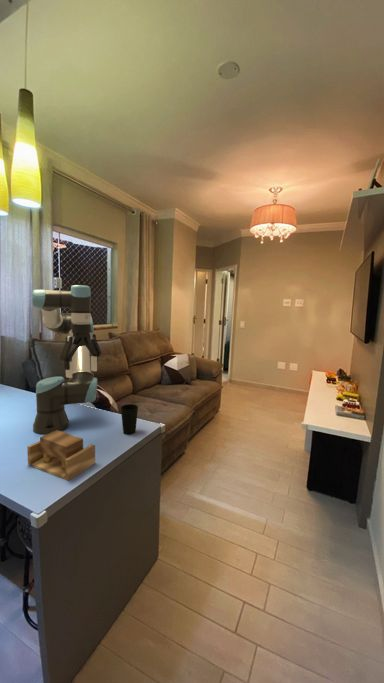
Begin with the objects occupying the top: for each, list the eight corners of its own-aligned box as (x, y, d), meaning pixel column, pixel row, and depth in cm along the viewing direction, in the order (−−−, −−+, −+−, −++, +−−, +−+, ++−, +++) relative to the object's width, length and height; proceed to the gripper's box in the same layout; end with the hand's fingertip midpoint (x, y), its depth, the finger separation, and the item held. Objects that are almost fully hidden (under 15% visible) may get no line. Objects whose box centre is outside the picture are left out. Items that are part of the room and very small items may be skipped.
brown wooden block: (83, 453, 102) (83, 438, 102) (66, 462, 96) (66, 447, 95) (57, 443, 109) (57, 430, 108) (40, 451, 102) (39, 437, 102)
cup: (133, 436, 126) (133, 410, 125) (117, 434, 128) (117, 409, 126) (140, 429, 134) (140, 405, 132) (125, 427, 135) (125, 403, 134)
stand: (28, 465, 102) (27, 446, 101) (56, 450, 113) (55, 433, 112) (68, 480, 93) (68, 460, 93) (95, 463, 104) (94, 444, 103)
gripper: (62, 325, 104) (64, 381, 106) (109, 322, 126) (109, 369, 129) (48, 324, 107) (50, 379, 109) (96, 322, 129) (96, 367, 132)
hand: (82, 374), depth 119 cm, fingers open, 13 cm apart
